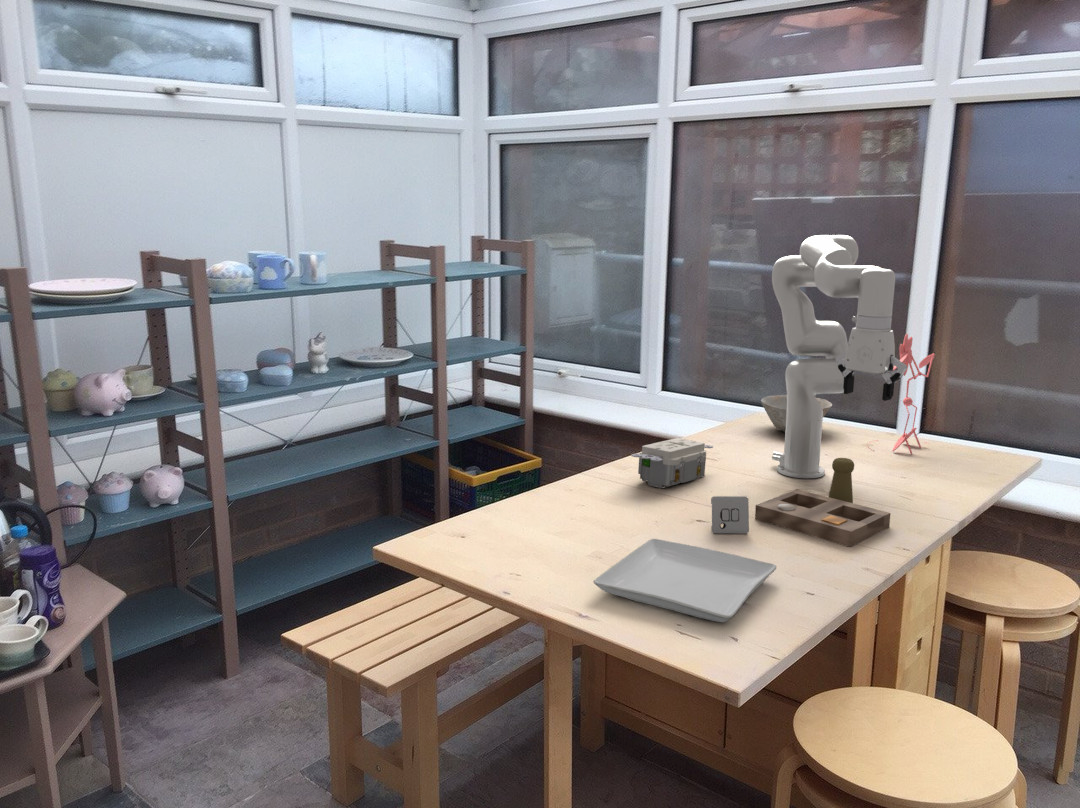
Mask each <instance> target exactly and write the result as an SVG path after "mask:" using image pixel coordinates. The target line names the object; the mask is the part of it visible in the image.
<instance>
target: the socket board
mask: <svg viewBox="0 0 1080 808" xmlns="http://www.w3.org/2000/svg"><path fill="white" fill-rule="evenodd" d="M754 512H755V514H754V520H756V521H760V522H763V523H767V524H770V525H773V526H777V527H780V528H783V529H787V530H790V531H793V532H797V533H798V532H799V533H801V534H804V535H808V536H811V537H814V538H818V539H822V540H823V541H824V540H825V541H829V542H831V543H835V544H839V545H842V546H846V547H849V548H851V547H853V546H855V545H857V544H859V543H861V542H863V541H866V540H867V539H869V538H871V537H873V536H875V535H877V534H879V533H881V532H883V531H885V530H887V529H889V528H890V525H891V524H890V522H891V512H890V511H885V510H881V509H878V508H873V507H869V506H864V505H862V504H857V503H854V502H853V503H850V502H846V501H842V500H838V499H834V498H830V497H829V496H826V495H822V494H818V493H814V492H810V491H805V490H803V489H797V488H796V489H794V490H790V491H788V492H786V493H783V494H781V495H778V496H776V497H773V498H771V499H769V500H765V501H763V502H759V503H757V504H756V505H755V511H754Z"/></svg>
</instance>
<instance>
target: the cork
mask: <svg viewBox="0 0 1080 808" xmlns="http://www.w3.org/2000/svg"><path fill="white" fill-rule="evenodd" d="M831 464H832V465H831V466H832V467H831V468H832V470H833V475H832V480H831V484H830V489H829V493H828V497H830V498H834V499H838V500H842V501H846V502H850V503H854V495H853V494H854V493H853V480H852V479H853V478H852V477H853V476H852V475H853V474H852V473H853V472H854V470H855V463H854V460H852V459H850V458H847V457H837V458H834V459H833V460H832V463H831Z"/></svg>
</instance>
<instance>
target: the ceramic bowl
mask: <svg viewBox="0 0 1080 808" xmlns="http://www.w3.org/2000/svg"><path fill="white" fill-rule="evenodd" d="M816 399H817V400H818V402H819V403H820V405H821V407H822V409H823V418H825V416H826V415H827V413H828V412H829V410H830V409H831V408H832V406H833V403H832V402H830V401H829V400H827V399H824V398H820V397H816ZM761 404H762V407H763V409H764V411H765V413H766V415H767V416H768V418H769V420H770V422H771V424H773V426H774V427H775V428H776V429H778V430H779V431H782V432H784V433H785V431H786V414H787V394H783V395H782V394H781V395H778V394H776V395H768V396H764V397H762V398H761Z"/></svg>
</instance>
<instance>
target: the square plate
mask: <svg viewBox="0 0 1080 808" xmlns="http://www.w3.org/2000/svg"><path fill="white" fill-rule="evenodd" d="M776 569H777V565H776V564H774V563H770V562H766V561H762V560H758V559H752V558H748V557H746V556H745V557H744V556H741V555H736V554H732V553H728V552H724V551H720V550H715V549H710V548H705V547H701V546H694V545H690V544H686V543H679V542H674V541H669V540H664V539H659V538H650V539H648V540H647V541H646V542H644V543H642V545H640V546H638V547H637V548H635V549H634V550H633V551H632V552H630V553H628V554H627V555H625V556H624V557H623V558H622V559H620V560H619V561H618V562H616V563H615V564H614V565H612V566H611V567H610V568H608V569H607V570H606V571H605V570H604V572H603V573H602V574H600V575H599V576H597V577H596V578H595V579H594V580H593V581H592V582H593V584H594V585H596V587H598V588H599V589H600V590H602V591H604V592H605V593H608V594H611V595H614V596H618V597H622V598H626V599H628V600H632V601H634V602H638V603H643V604H647V605H650V606H654V607H657V608H658V607H659V608H662V609H665V610H670V611H673V612H678V613H682V614H685V615H689V616H692V617H696V618H700V619H703V620H708V621H712V622H718V623H725V622H727V621H729V620H730V619H731V618H732V617H734V616H735V615H736V613H737V612H738V611H739V610H740V609H741V607H742V606H743V604H744V603H745V602H746V601H747V599H748V598H749V596H750V595H752V594H753V593H754V591H755V590H756V589H758V588H759V587H760V586H761V585H762V584H763V583H764V582H765V581H766V580H767V578H769V577H770V576H771V575H772V574H773V573H774V572H775V571H776Z"/></svg>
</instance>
